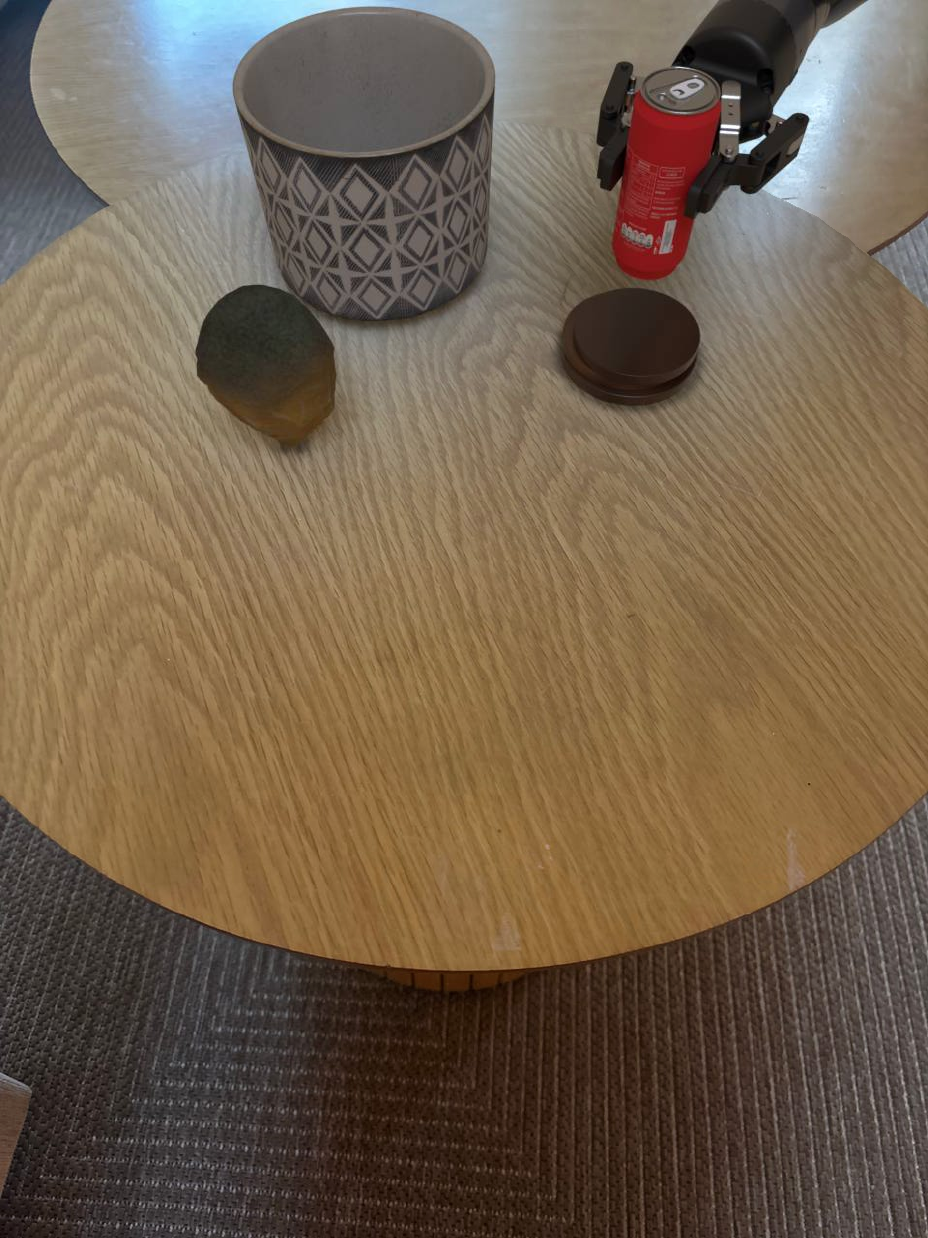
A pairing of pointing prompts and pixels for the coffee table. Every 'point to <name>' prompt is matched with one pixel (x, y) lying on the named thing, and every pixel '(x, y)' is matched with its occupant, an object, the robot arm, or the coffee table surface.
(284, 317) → the decorative stone
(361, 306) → the planter
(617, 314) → the disc pile
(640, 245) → the beverage can
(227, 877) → the coffee table surface
